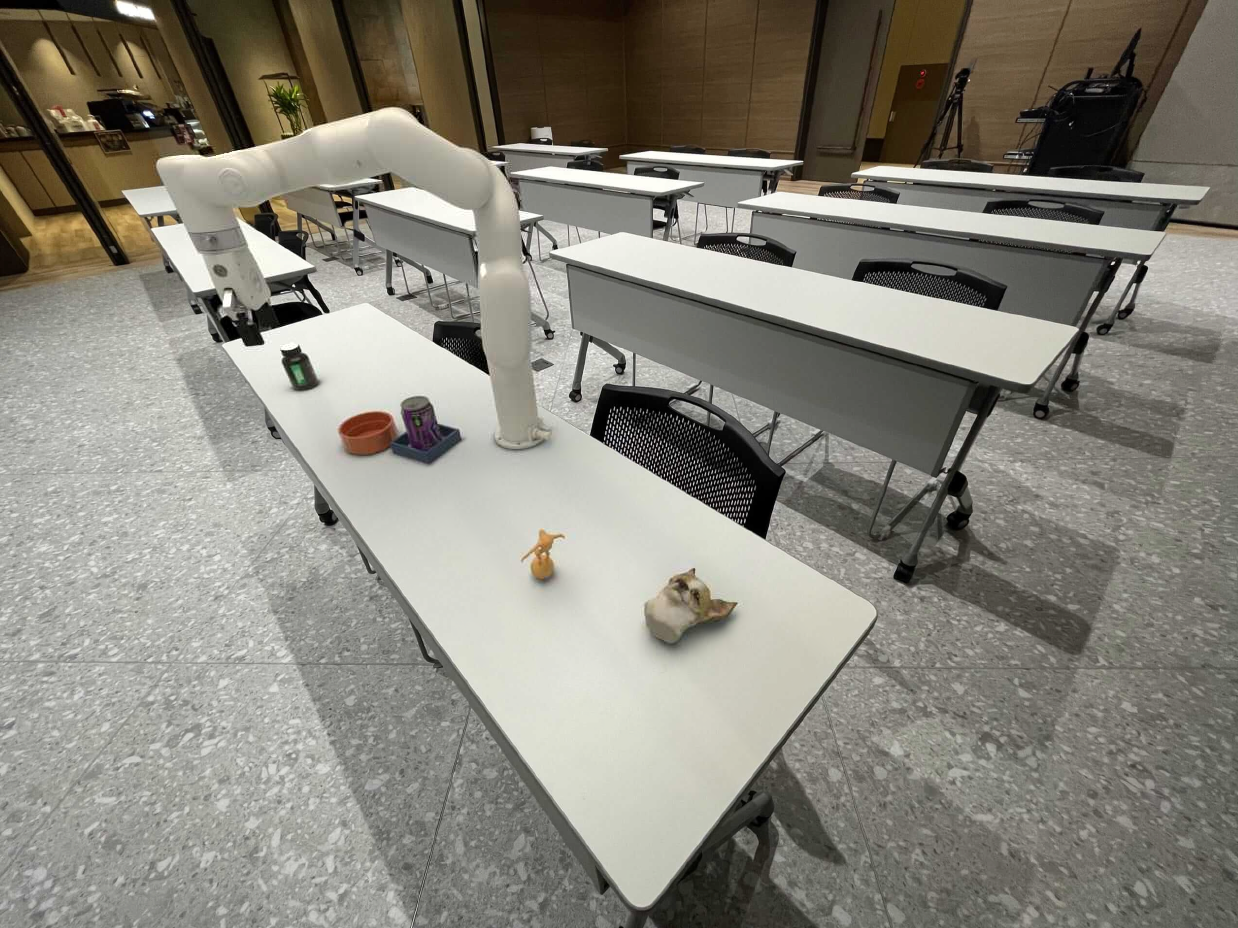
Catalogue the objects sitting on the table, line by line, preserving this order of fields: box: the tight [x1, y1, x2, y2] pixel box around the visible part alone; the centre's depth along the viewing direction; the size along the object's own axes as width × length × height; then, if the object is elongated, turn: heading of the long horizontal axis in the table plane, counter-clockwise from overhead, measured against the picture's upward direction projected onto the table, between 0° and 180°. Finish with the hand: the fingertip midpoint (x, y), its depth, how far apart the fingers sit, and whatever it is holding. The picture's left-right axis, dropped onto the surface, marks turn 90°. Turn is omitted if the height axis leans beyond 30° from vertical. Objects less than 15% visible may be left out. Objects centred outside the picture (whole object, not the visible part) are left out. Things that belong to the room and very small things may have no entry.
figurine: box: [520, 528, 565, 580], centre depth 83 cm, size 8×6×12 cm
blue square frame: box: [390, 423, 462, 465], centre depth 119 cm, size 11×11×3 cm
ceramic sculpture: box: [643, 567, 739, 644], centre depth 77 cm, size 11×9×15 cm
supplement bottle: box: [279, 343, 319, 391], centre depth 144 cm, size 7×7×12 cm
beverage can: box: [400, 395, 443, 452], centre depth 117 cm, size 7×7×12 cm
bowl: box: [337, 410, 400, 456], centre depth 121 cm, size 12×12×5 cm
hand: (263, 335), depth 96 cm, fingers open, 9 cm apart
